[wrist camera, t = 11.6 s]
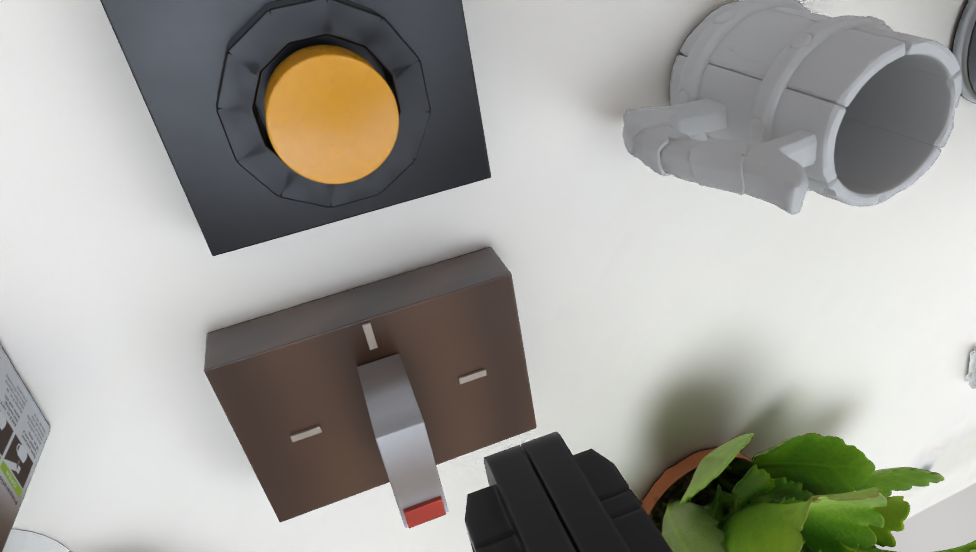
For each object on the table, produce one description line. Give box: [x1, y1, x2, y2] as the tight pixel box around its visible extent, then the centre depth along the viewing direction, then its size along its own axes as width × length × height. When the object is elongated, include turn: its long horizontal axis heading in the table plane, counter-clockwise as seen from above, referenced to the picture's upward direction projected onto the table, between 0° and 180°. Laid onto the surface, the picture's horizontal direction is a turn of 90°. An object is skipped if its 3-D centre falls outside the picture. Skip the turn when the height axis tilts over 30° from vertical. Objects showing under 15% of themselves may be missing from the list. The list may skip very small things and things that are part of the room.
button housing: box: [100, 0, 491, 256], centre depth 25 cm, size 12×10×4 cm
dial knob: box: [357, 354, 448, 528], centre depth 29 cm, size 6×2×5 cm, turn 9°
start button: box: [264, 45, 399, 184], centre depth 23 cm, size 4×4×2 cm
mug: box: [623, 0, 962, 214], centre depth 27 cm, size 8×12×12 cm, turn 102°
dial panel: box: [204, 247, 536, 522], centre depth 33 cm, size 14×10×3 cm
